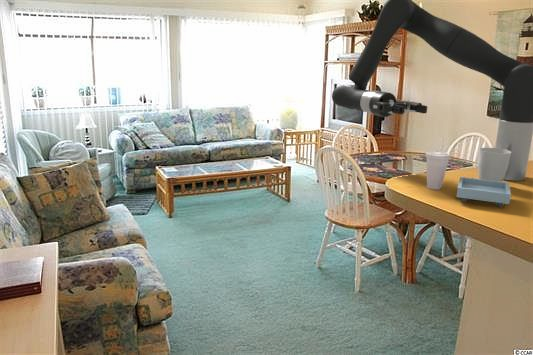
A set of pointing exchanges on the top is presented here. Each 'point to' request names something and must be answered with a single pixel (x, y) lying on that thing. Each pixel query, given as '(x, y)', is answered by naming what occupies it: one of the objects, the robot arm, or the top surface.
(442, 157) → the smoothie
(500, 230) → the top surface
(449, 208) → the top surface
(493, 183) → the square pastel tray
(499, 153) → the cup
